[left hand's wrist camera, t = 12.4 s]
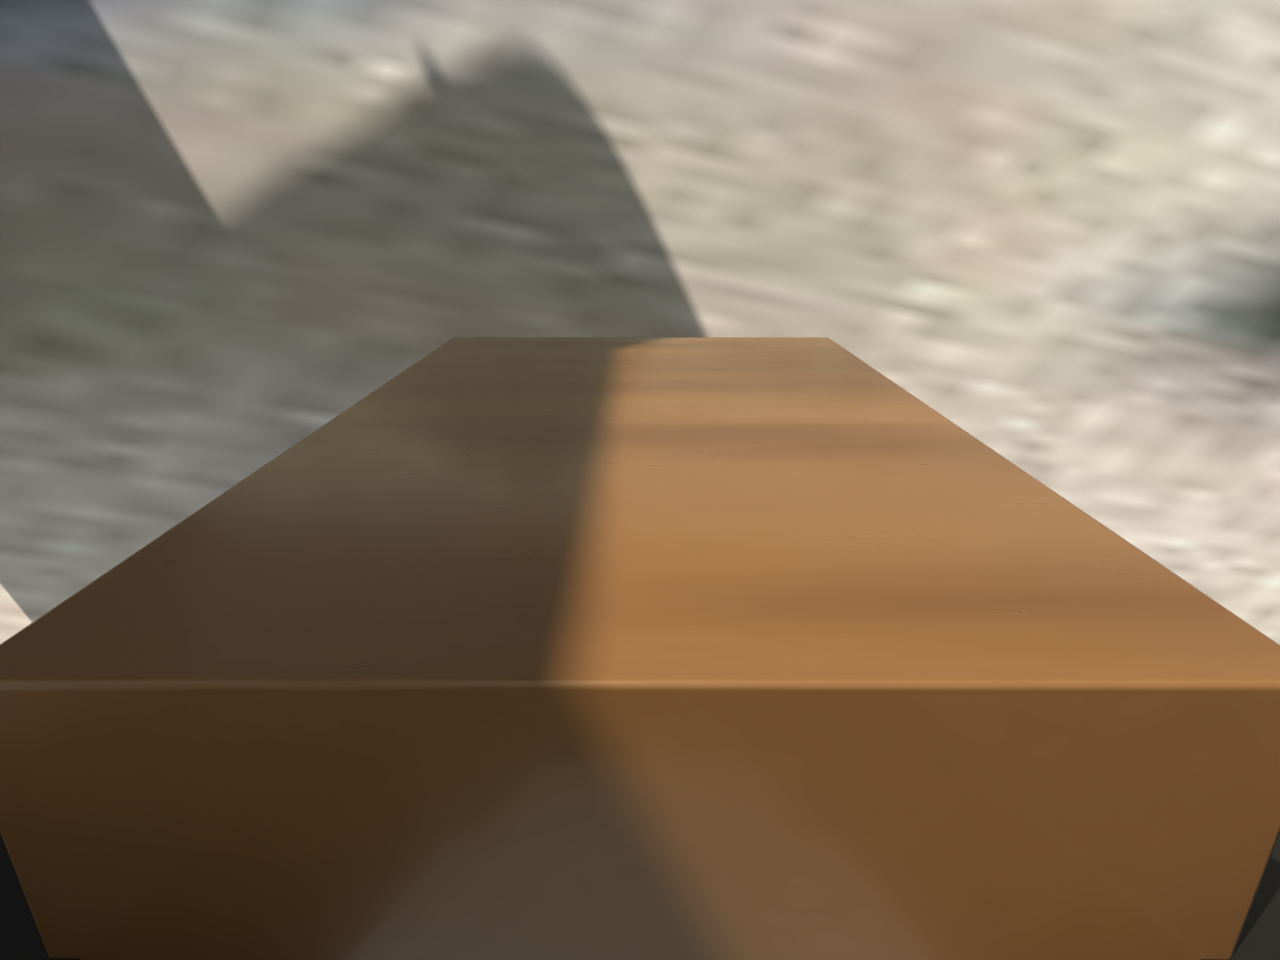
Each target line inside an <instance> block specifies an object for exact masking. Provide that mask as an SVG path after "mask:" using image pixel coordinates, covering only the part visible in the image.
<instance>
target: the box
mask: <svg viewBox="0 0 1280 960" xmlns="http://www.w3.org/2000/svg"><path fill="white" fill-rule="evenodd" d="M0 833H1V835H2V838H3V841H4V843H5V846H6V848H7V851H8V854H9V856H10V859H11V861H12V864H13V867H14V869H15V872H16V874H17V877H18V879H19V882H20V885H21V887H22V890H23V892H24V895H25V898H26V900H27V903H28V905H29V908H30V911H31V913H32V916H33V918H34V921H35V924H36V926H37V929H38V931H39V934H40V936H41V939H42V942H43V944H44V947H45V949H46V952H47V955H48V956H49V957H51V958H80V960H1201V959H1229V958H1231V957H1232V956H1233V953H1234V951H1235V948H1236V945H1237V943H1238V940H1239V938H1240V935H1241V932H1242V930H1243V927H1244V925H1245V922H1246V919H1247V917H1248V914H1249V912H1250V909H1251V906H1252V904H1253V901H1254V899H1255V896H1256V893H1257V891H1258V888H1259V886H1260V883H1261V880H1262V878H1263V875H1264V873H1265V870H1266V867H1267V865H1268V862H1269V860H1270V857H1271V854H1272V852H1273V849H1274V847H1275V844H1276V841H1277V839H1278V836H1279V834H1280V645H1279V644H1277V643H1276V642H1275V641H1273V640H1272V639H1270V638H1269V637H1267V636H1266V635H1264V634H1263V633H1261V632H1260V631H1258V630H1257V629H1255V628H1254V627H1252V626H1251V625H1250V624H1248V623H1247V622H1245V621H1244V620H1242V619H1241V618H1239V617H1238V616H1236V615H1235V614H1233V613H1232V612H1230V611H1229V610H1228V609H1226V608H1225V607H1223V606H1222V605H1220V604H1219V603H1217V602H1216V601H1214V600H1213V599H1211V598H1210V597H1208V596H1207V595H1205V594H1204V593H1203V592H1201V591H1200V590H1198V589H1197V588H1195V587H1194V586H1192V585H1191V584H1189V583H1188V582H1186V581H1185V580H1183V579H1182V578H1180V577H1179V576H1178V575H1176V574H1175V573H1173V572H1172V571H1170V570H1169V569H1167V568H1166V567H1164V566H1163V565H1161V564H1160V563H1158V562H1157V561H1156V560H1154V559H1153V558H1151V557H1150V556H1148V555H1147V554H1145V553H1144V552H1142V551H1141V550H1139V549H1138V548H1136V547H1135V546H1133V545H1132V544H1131V543H1129V542H1128V541H1126V540H1125V539H1123V538H1122V537H1120V536H1119V535H1117V534H1116V533H1114V532H1113V531H1111V530H1110V529H1109V528H1107V527H1106V526H1104V525H1103V524H1101V523H1100V522H1098V521H1097V520H1095V519H1094V518H1092V517H1091V516H1089V515H1088V514H1086V513H1085V512H1084V511H1082V510H1081V509H1079V508H1078V507H1076V506H1075V505H1073V504H1072V503H1070V502H1069V501H1067V500H1066V499H1064V498H1063V497H1061V496H1060V495H1059V494H1057V493H1056V492H1054V491H1053V490H1051V489H1050V488H1048V487H1047V486H1045V485H1044V484H1042V483H1041V482H1039V481H1038V480H1037V479H1035V478H1034V477H1032V476H1031V475H1029V474H1028V473H1026V472H1025V471H1023V470H1022V469H1020V468H1019V467H1017V466H1016V465H1014V464H1013V463H1012V462H1010V461H1009V460H1007V459H1006V458H1004V457H1003V456H1001V455H1000V454H998V453H997V452H995V451H994V450H992V449H991V448H989V447H988V446H987V445H985V444H984V443H982V442H981V441H979V440H978V439H976V438H975V437H973V436H972V435H970V434H969V433H967V432H966V431H965V430H963V429H962V428H960V427H959V426H957V425H956V424H954V423H953V422H951V421H950V420H948V419H947V418H945V417H944V416H942V415H941V414H940V413H938V412H937V411H935V410H934V409H932V408H931V407H929V406H928V405H926V404H925V403H923V402H922V401H920V400H919V399H917V398H916V397H915V396H913V395H912V394H910V393H909V392H907V391H906V390H904V389H903V388H901V387H900V386H898V385H897V384H895V383H894V382H893V381H891V380H890V379H888V378H887V377H885V376H884V375H882V374H881V373H879V372H878V371H876V370H875V369H873V368H872V367H870V366H869V365H868V364H866V363H865V362H863V361H862V360H860V359H859V358H857V357H856V356H854V355H853V354H851V353H850V352H848V351H847V350H845V349H844V348H843V347H841V346H840V345H838V344H837V343H835V342H834V341H832V340H831V339H829V338H452V339H451V340H449V341H448V342H446V343H445V344H443V345H442V346H440V347H439V348H437V349H436V350H435V351H433V352H432V353H430V354H429V355H427V356H426V357H424V358H423V359H421V360H420V361H418V362H417V363H415V364H414V365H412V366H411V367H409V368H408V369H406V370H405V371H403V372H402V373H401V374H399V375H398V376H396V377H395V378H393V379H392V380H390V381H389V382H387V383H386V384H384V385H383V386H381V387H380V388H378V389H377V390H375V391H374V392H372V393H371V394H369V395H368V396H367V397H365V398H364V399H362V400H361V401H359V402H358V403H356V404H355V405H353V406H352V407H350V408H349V409H347V410H346V411H344V412H343V413H341V414H340V415H338V416H337V417H336V418H334V419H333V420H331V421H330V422H328V423H327V424H325V425H324V426H322V427H321V428H319V429H318V430H316V431H315V432H313V433H312V434H310V435H309V436H307V437H306V438H304V439H303V440H302V441H300V442H299V443H297V444H296V445H294V446H293V447H291V448H290V449H288V450H287V451H285V452H284V453H282V454H281V455H279V456H278V457H276V458H275V459H273V460H272V461H270V462H269V463H268V464H266V465H265V466H263V467H262V468H260V469H259V470H257V471H256V472H254V473H253V474H251V475H250V476H248V477H247V478H245V479H244V480H242V481H241V482H239V483H238V484H236V485H235V486H234V487H232V488H231V489H229V490H228V491H226V492H225V493H223V494H222V495H220V496H219V497H217V498H216V499H214V500H213V501H211V502H210V503H208V504H207V505H205V506H204V507H202V508H201V509H200V510H198V511H197V512H195V513H194V514H192V515H191V516H189V517H188V518H186V519H185V520H183V521H182V522H180V523H179V524H177V525H176V526H174V527H173V528H171V529H170V530H168V531H167V532H166V533H164V534H163V535H161V536H160V537H158V538H157V539H155V540H154V541H152V542H151V543H149V544H148V545H146V546H145V547H143V548H142V549H140V550H139V551H137V552H136V553H134V554H133V555H132V556H130V557H129V558H127V559H126V560H124V561H123V562H121V563H120V564H118V565H117V566H115V567H114V568H112V569H111V570H109V571H108V572H106V573H105V574H103V575H102V576H100V577H99V578H98V579H96V580H95V581H93V582H92V583H90V584H89V585H87V586H86V587H84V588H83V589H81V590H80V591H78V592H77V593H75V594H74V595H72V596H71V597H69V598H68V599H66V600H65V601H64V602H62V603H61V604H59V605H58V606H56V607H55V608H53V609H52V610H50V611H49V612H47V613H46V614H44V615H43V616H41V617H40V618H38V619H37V620H35V621H34V622H32V623H31V624H30V625H28V626H27V627H25V628H24V629H22V630H21V631H19V632H18V633H16V634H15V635H13V636H12V637H10V638H9V639H7V640H6V641H4V642H3V643H1V644H0Z"/></svg>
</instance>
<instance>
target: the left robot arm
mask: <svg viewBox="0 0 1280 960" xmlns="http://www.w3.org/2000/svg"><path fill="white" fill-rule="evenodd" d="M0 960H80V958H51V957H49V956H48V955H47V952H46V949H45V947H44V944H43V942H42V939H41V936H40V934H39V931H38V929H37V926H36V924H35V921H34V918H33V916H32V913H31V911H30V908H29V905H28V903H27V900H26V898H25V895H24V892H23V890H22V887H21V885H20V882H19V879H18V877H17V874H16V872H15V869H14V867H13V864H12V861H11V859H10V856H9V854H8V851H7V848H6V846H5V843H4V841H3V838H2V835H1V833H0ZM1201 960H1280V834H1279V836H1278V839H1277V841H1276V844H1275V847H1274V849H1273V852H1272V854H1271V857H1270V860H1269V862H1268V865H1267V867H1266V870H1265V873H1264V875H1263V878H1262V880H1261V883H1260V886H1259V888H1258V891H1257V893H1256V896H1255V899H1254V901H1253V904H1252V906H1251V909H1250V912H1249V914H1248V917H1247V919H1246V922H1245V925H1244V927H1243V930H1242V932H1241V935H1240V938H1239V940H1238V943H1237V945H1236V948H1235V951H1234V953H1233V956H1232V957H1231V958H1229V959H1201Z"/></svg>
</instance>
